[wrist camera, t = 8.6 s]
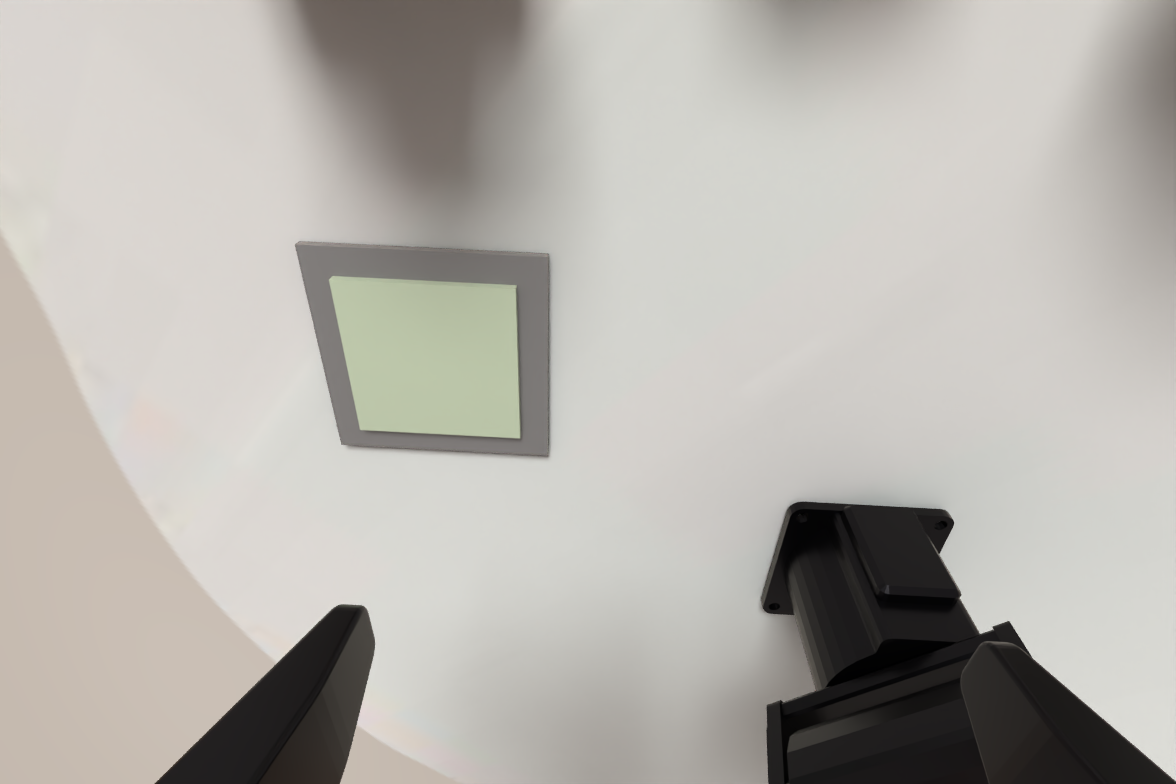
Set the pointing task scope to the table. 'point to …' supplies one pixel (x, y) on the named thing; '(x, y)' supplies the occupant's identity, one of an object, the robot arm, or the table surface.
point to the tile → (432, 345)
